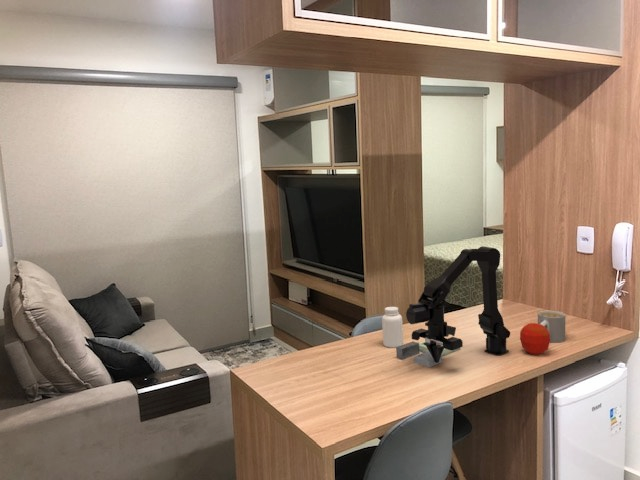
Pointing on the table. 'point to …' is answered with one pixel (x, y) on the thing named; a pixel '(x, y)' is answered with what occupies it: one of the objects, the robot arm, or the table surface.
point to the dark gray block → (407, 350)
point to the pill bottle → (392, 328)
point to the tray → (424, 349)
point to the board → (426, 359)
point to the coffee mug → (553, 324)
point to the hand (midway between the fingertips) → (437, 362)
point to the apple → (535, 338)
